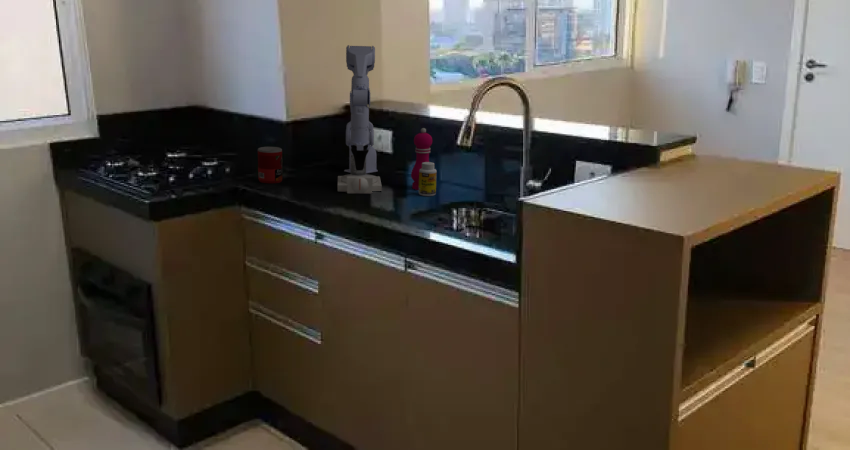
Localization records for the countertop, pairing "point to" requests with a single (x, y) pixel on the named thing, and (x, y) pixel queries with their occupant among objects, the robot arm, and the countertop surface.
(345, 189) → the scale
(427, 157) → the pepper mill
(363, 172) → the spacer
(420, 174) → the supplement bottle
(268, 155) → the canned food
